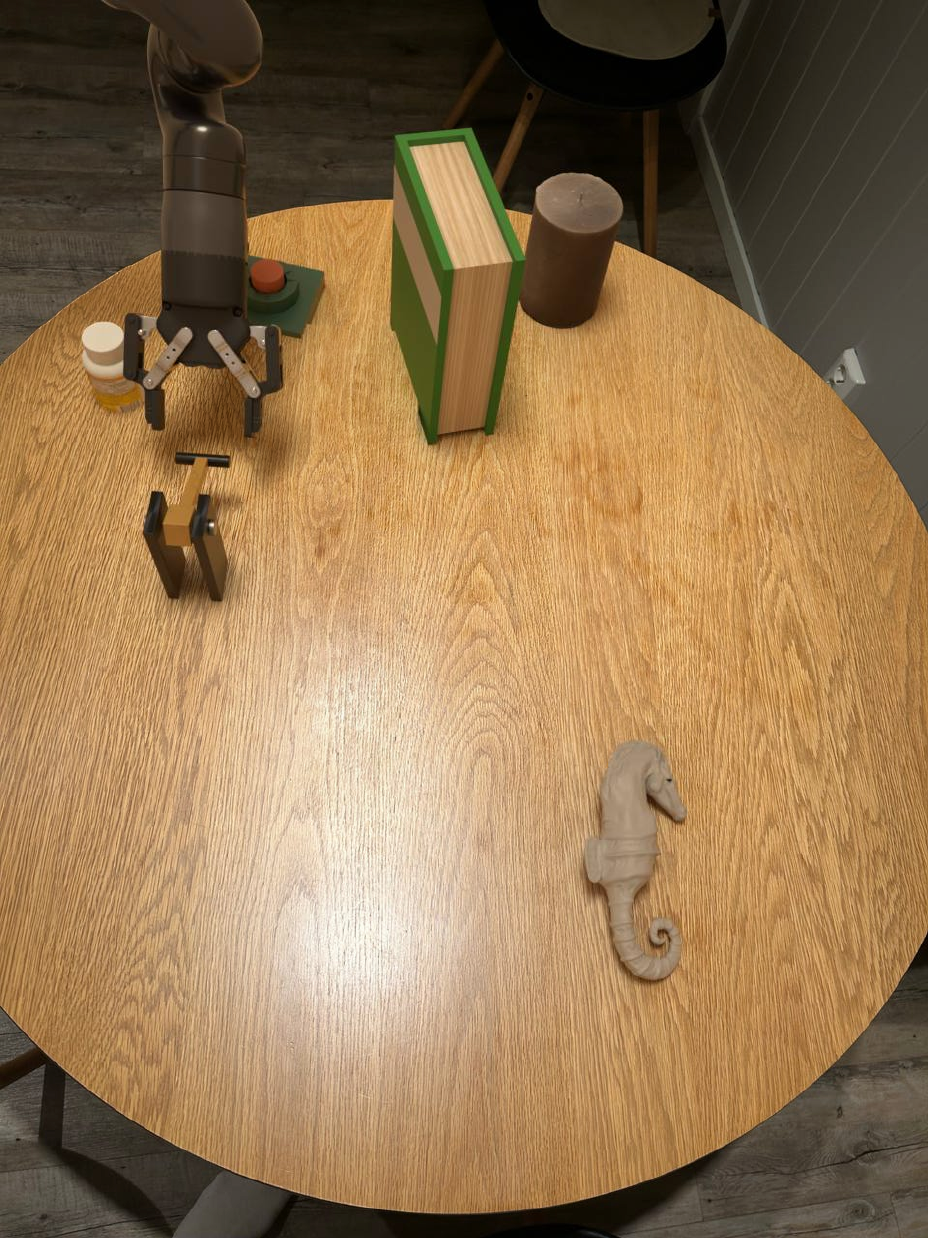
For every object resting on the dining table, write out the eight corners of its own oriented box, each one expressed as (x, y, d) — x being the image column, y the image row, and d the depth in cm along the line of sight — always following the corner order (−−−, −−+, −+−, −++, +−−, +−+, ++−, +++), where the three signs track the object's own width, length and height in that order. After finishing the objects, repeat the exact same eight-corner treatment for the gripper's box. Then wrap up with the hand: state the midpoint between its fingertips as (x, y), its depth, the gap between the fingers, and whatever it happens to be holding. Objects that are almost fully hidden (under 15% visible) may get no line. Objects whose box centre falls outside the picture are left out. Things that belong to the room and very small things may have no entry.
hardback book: (493, 434, 102) (526, 259, 81) (428, 444, 101) (443, 270, 80) (451, 315, 110) (471, 127, 89) (390, 324, 108) (394, 135, 87)
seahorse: (739, 964, 78) (684, 730, 84) (629, 990, 73) (578, 738, 79) (699, 966, 82) (649, 743, 88) (592, 991, 77) (546, 751, 83)
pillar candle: (589, 336, 110) (619, 232, 97) (509, 316, 111) (528, 210, 97) (603, 279, 115) (633, 172, 102) (525, 260, 115) (546, 151, 102)
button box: (215, 328, 106) (210, 302, 102) (242, 267, 110) (238, 240, 107) (301, 347, 106) (299, 321, 102) (325, 285, 110) (323, 258, 107)
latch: (178, 464, 89) (175, 443, 88) (231, 468, 90) (229, 447, 88) (149, 544, 81) (145, 522, 79) (208, 548, 81) (205, 526, 79)
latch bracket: (167, 540, 93) (139, 462, 82) (249, 545, 93) (232, 469, 82) (149, 630, 88) (117, 561, 77) (235, 635, 89) (216, 567, 78)
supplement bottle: (136, 427, 99) (114, 364, 90) (89, 412, 99) (63, 347, 90) (159, 390, 101) (140, 325, 93) (113, 375, 101) (90, 309, 93)
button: (248, 290, 104) (246, 278, 102) (257, 267, 106) (255, 255, 104) (279, 297, 104) (278, 285, 102) (288, 274, 106) (287, 262, 104)
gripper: (110, 240, 80) (115, 432, 85) (279, 256, 81) (274, 445, 86) (135, 246, 87) (139, 423, 92) (290, 260, 88) (285, 435, 93)
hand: (204, 433), depth 89 cm, fingers open, 8 cm apart
